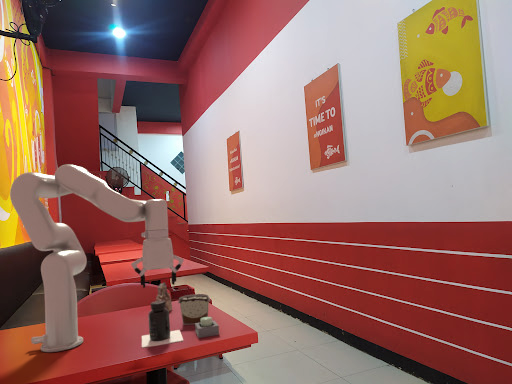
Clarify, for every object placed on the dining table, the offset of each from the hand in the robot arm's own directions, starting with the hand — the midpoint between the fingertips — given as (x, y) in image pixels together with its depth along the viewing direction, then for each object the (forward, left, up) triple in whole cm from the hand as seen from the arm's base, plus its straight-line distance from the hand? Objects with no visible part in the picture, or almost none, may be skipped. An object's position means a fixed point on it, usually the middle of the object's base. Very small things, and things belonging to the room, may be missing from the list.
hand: (158, 285), depth 123 cm
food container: (+14, +14, -18) cm, 27 cm away
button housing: (+15, -2, -18) cm, 23 cm away
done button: (+15, -2, -16) cm, 22 cm away
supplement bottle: (0, 0, -18) cm, 18 cm away
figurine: (+3, +40, -18) cm, 44 cm away
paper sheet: (0, 0, -18) cm, 18 cm away
